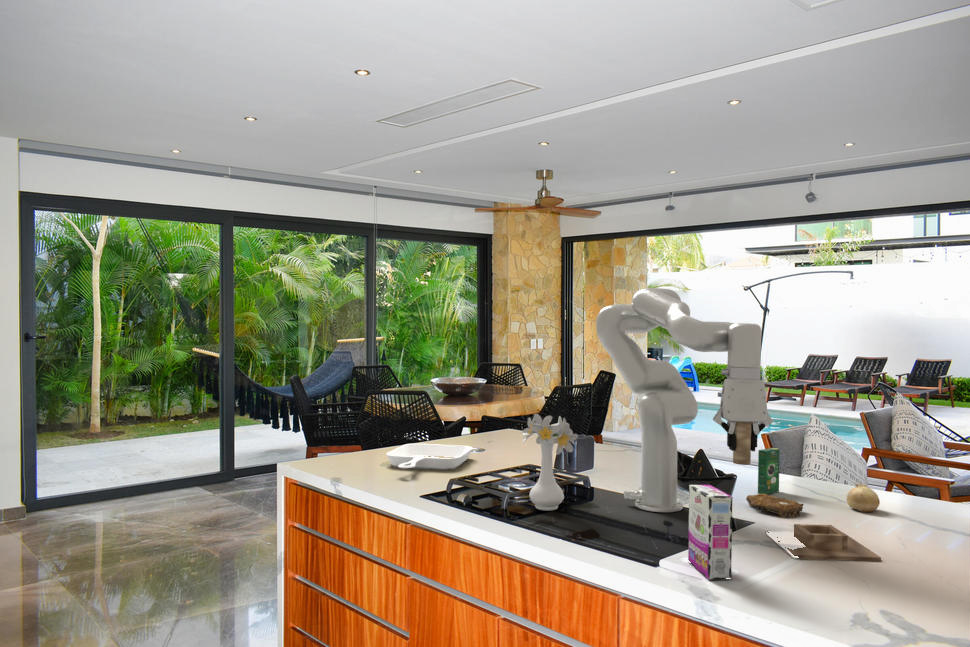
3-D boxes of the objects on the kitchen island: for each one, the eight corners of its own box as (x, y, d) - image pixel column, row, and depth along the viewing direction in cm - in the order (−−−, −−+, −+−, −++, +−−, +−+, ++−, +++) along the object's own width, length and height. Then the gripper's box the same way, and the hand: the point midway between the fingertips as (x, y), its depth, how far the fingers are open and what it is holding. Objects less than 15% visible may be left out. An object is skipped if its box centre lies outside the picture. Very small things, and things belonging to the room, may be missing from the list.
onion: (883, 510, 191) (883, 484, 191) (875, 516, 185) (875, 489, 185) (851, 505, 196) (851, 479, 196) (842, 510, 190) (842, 484, 190)
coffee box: (770, 489, 213) (771, 446, 213) (780, 491, 211) (780, 448, 211) (756, 493, 208) (757, 449, 208) (766, 495, 206) (766, 451, 206)
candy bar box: (733, 580, 137) (733, 496, 137) (708, 581, 136) (709, 496, 136) (710, 561, 148) (710, 483, 148) (687, 561, 147) (687, 483, 147)
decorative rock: (735, 511, 191) (791, 524, 180) (735, 496, 191) (791, 508, 180) (754, 501, 199) (808, 513, 188) (754, 487, 199) (808, 498, 188)
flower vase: (554, 519, 179) (555, 421, 179) (509, 504, 193) (509, 414, 193) (590, 511, 186) (591, 417, 186) (544, 498, 201) (545, 410, 201)
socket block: (793, 558, 150) (794, 540, 150) (765, 533, 168) (765, 517, 168) (881, 561, 149) (881, 543, 149) (843, 535, 167) (843, 519, 167)
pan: (475, 458, 262) (476, 445, 262) (443, 482, 221) (443, 467, 221) (407, 454, 268) (407, 442, 268) (364, 477, 227) (364, 463, 227)
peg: (735, 464, 168) (736, 414, 167) (730, 461, 172) (731, 412, 171) (753, 465, 167) (754, 415, 167) (747, 461, 171) (748, 412, 171)
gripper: (712, 374, 166) (710, 452, 166) (784, 376, 165) (783, 454, 165) (704, 372, 173) (702, 446, 174) (773, 373, 172) (772, 448, 173)
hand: (741, 449), depth 169 cm, fingers closed on peg, 4 cm apart
